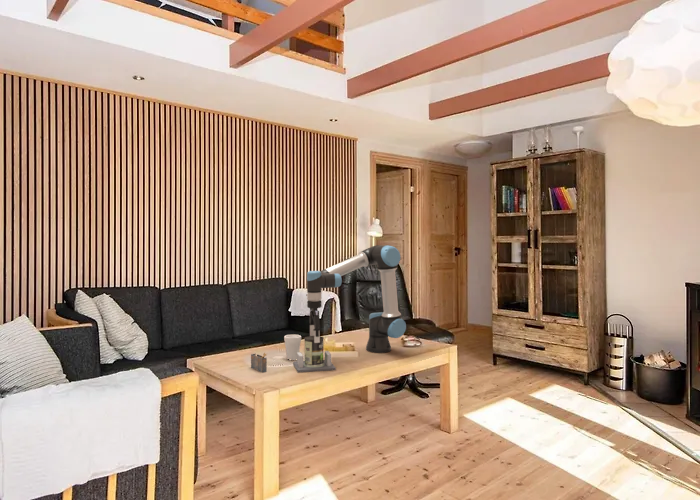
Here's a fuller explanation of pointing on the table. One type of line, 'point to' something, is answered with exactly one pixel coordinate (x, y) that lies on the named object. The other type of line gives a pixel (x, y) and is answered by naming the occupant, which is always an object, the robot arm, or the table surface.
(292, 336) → the foam cup
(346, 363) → the table surface
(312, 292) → the robot arm
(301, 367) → the holder
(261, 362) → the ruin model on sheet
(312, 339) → the coffee can
